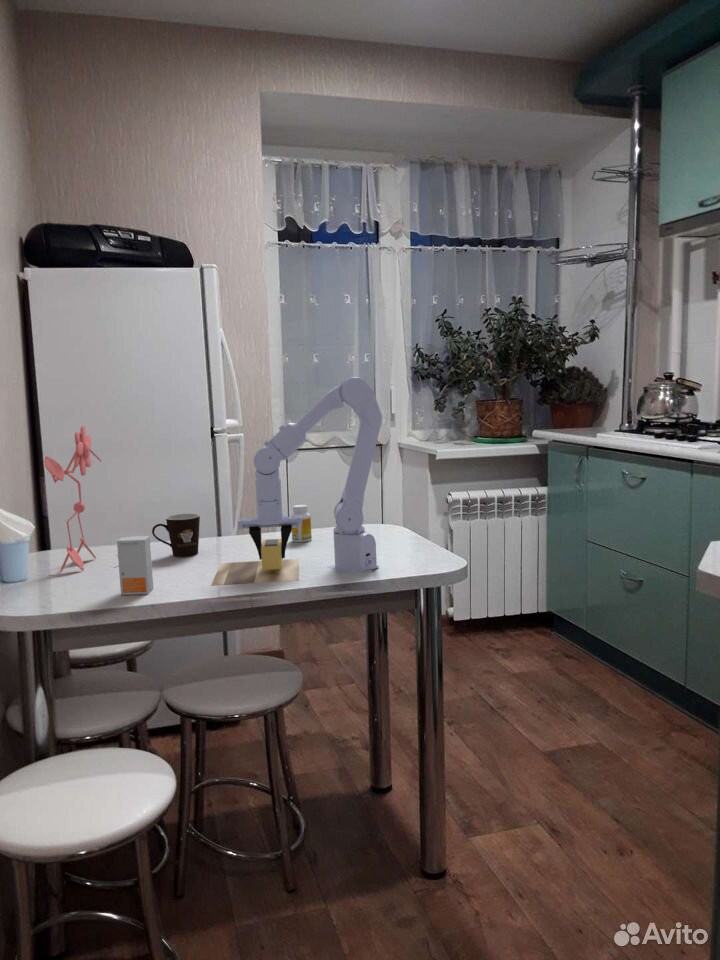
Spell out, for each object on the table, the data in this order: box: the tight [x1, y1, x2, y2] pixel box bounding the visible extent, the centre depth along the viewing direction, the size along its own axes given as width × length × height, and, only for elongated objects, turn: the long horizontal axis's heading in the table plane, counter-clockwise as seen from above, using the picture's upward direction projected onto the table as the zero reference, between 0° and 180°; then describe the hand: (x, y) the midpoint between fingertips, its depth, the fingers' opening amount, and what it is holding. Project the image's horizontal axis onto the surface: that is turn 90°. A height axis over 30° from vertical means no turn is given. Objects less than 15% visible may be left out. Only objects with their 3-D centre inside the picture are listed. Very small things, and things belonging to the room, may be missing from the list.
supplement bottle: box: [290, 504, 312, 543], centre depth 208 cm, size 5×5×10 cm
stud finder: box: [261, 538, 284, 570], centre depth 174 cm, size 4×9×5 cm, turn 4°
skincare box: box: [116, 535, 154, 596], centre depth 162 cm, size 6×4×12 cm
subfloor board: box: [210, 558, 300, 586], centre depth 174 cm, size 19×20×1 cm
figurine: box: [44, 425, 119, 577], centre depth 187 cm, size 15×26×35 cm, turn 2°
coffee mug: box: [151, 513, 201, 558], centre depth 197 cm, size 12×9×10 cm
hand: (272, 558), depth 174 cm, fingers closed on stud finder, 4 cm apart
